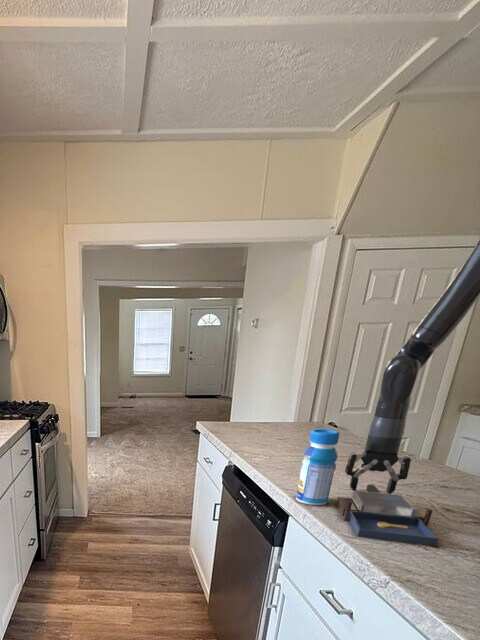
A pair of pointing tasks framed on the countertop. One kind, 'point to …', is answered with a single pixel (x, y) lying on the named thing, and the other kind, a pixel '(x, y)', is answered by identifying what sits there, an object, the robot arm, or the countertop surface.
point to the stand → (348, 505)
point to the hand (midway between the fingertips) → (370, 491)
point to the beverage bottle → (318, 467)
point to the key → (390, 525)
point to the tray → (392, 528)
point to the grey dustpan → (382, 503)
